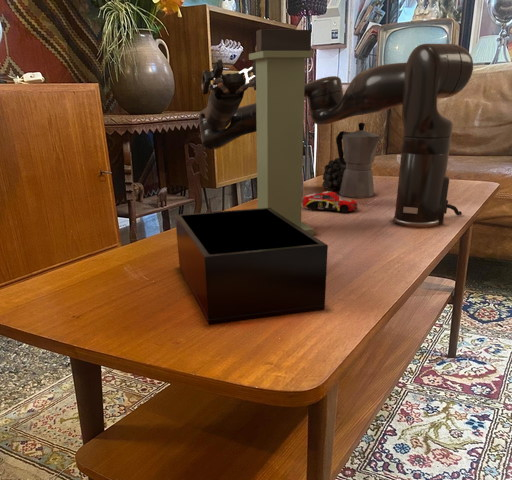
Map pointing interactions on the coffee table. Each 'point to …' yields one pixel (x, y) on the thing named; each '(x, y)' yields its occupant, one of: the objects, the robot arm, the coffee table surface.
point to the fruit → (333, 175)
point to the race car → (329, 202)
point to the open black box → (250, 264)
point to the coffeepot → (357, 162)
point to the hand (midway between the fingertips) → (240, 62)
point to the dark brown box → (283, 40)
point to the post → (280, 131)
